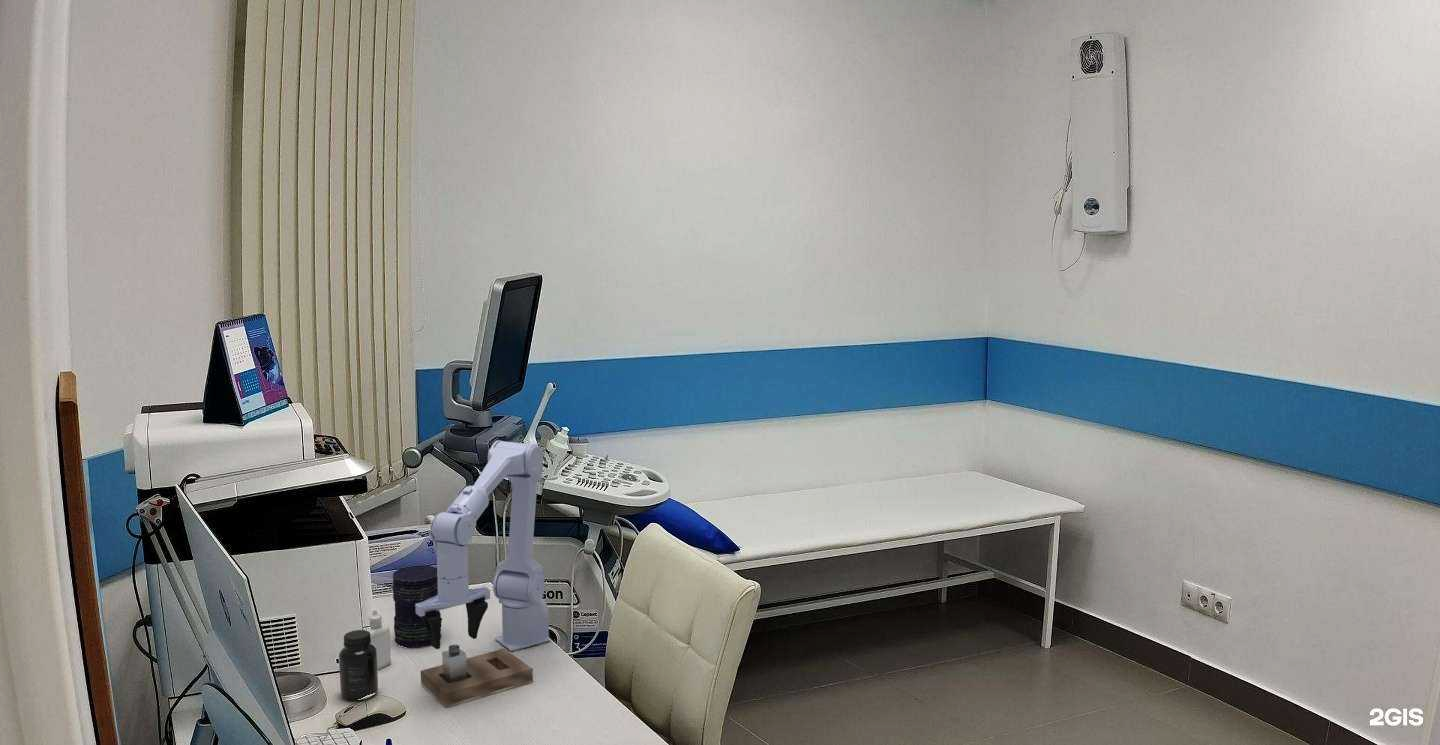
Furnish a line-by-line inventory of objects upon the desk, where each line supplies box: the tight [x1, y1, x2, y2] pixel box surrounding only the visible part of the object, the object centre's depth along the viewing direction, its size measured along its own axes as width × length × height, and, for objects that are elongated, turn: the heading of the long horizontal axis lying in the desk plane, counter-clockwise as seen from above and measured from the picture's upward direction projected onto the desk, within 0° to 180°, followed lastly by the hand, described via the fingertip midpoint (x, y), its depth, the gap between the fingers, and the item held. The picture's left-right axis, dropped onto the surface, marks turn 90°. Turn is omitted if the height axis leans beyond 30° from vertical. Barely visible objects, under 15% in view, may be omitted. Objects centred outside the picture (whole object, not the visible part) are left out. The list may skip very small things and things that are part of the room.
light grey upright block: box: [441, 644, 467, 684], centre depth 200 cm, size 3×3×8 cm
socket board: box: [420, 647, 534, 709], centre depth 203 cm, size 18×12×3 cm, turn 128°
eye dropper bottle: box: [368, 608, 392, 671], centre depth 209 cm, size 4×6×12 cm
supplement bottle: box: [338, 629, 379, 702], centre depth 197 cm, size 7×7×12 cm
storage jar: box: [392, 564, 442, 649], centre depth 222 cm, size 10×10×15 cm
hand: (454, 642), depth 199 cm, fingers open, 7 cm apart
